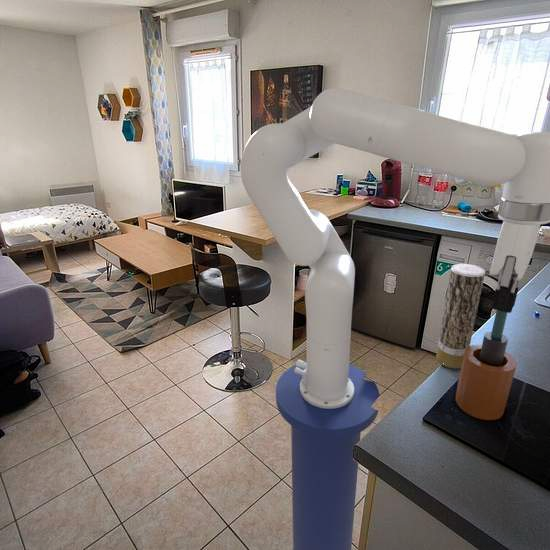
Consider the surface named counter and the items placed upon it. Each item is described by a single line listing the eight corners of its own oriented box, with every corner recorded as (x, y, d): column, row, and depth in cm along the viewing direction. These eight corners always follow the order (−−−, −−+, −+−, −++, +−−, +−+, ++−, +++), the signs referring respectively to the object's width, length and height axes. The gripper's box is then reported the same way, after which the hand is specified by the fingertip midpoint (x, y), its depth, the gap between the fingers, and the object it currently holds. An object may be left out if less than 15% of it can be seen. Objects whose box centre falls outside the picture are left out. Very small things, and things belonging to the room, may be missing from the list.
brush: (477, 359, 72) (494, 281, 66) (482, 350, 75) (498, 274, 69) (500, 367, 70) (520, 286, 63) (504, 357, 73) (523, 279, 66)
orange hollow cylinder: (450, 407, 77) (459, 359, 72) (461, 384, 83) (471, 339, 78) (498, 427, 71) (512, 377, 67) (507, 401, 78) (520, 354, 73)
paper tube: (465, 357, 92) (484, 265, 83) (465, 372, 87) (486, 276, 77) (436, 351, 95) (451, 262, 85) (435, 366, 89) (451, 272, 80)
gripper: (507, 200, 69) (489, 288, 76) (490, 217, 58) (470, 318, 65) (556, 204, 64) (532, 297, 71) (547, 223, 53) (519, 331, 60)
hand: (502, 307), depth 68 cm, fingers closed on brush
